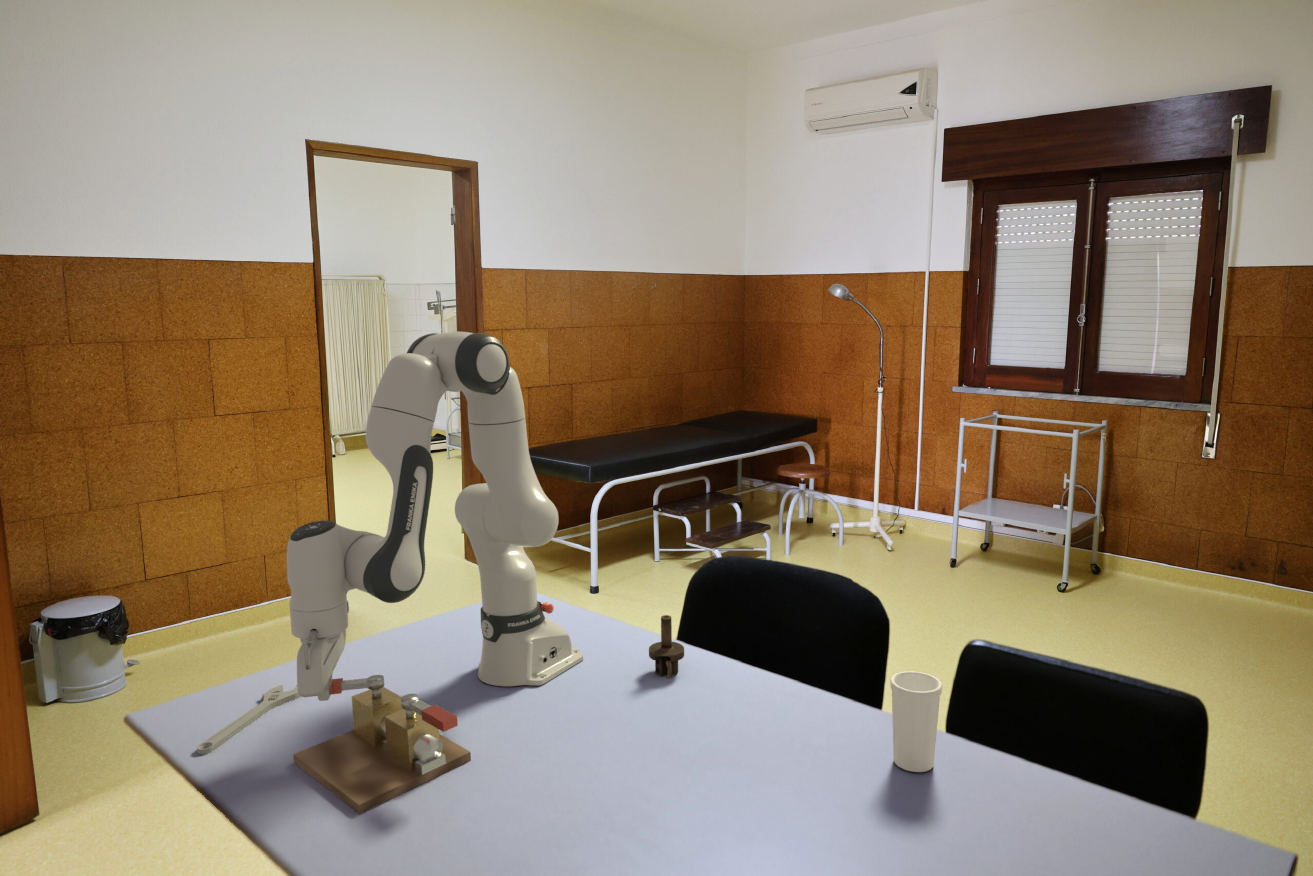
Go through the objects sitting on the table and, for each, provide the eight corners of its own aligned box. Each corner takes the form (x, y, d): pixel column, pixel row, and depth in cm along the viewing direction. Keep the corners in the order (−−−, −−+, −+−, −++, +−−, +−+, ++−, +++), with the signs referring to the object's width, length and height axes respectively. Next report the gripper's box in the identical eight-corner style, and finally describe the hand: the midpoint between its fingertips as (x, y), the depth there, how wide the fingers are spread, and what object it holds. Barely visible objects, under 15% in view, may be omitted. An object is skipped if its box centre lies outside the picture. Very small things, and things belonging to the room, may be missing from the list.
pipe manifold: (379, 719, 155) (375, 664, 153) (468, 774, 136) (465, 712, 134) (350, 731, 150) (345, 675, 149) (438, 789, 132) (434, 726, 130)
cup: (939, 755, 142) (943, 674, 140) (939, 781, 134) (942, 696, 132) (889, 747, 145) (891, 668, 142) (885, 773, 137) (888, 689, 135)
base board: (400, 718, 158) (400, 711, 158) (470, 760, 143) (470, 752, 143) (294, 762, 143) (293, 754, 143) (360, 814, 129) (359, 805, 128)
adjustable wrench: (207, 759, 146) (205, 749, 146) (178, 753, 148) (176, 744, 148) (308, 693, 170) (307, 685, 169) (282, 689, 172) (281, 681, 171)
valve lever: (385, 682, 149) (384, 673, 149) (383, 689, 147) (382, 680, 146) (306, 690, 147) (306, 681, 146) (303, 697, 144) (302, 688, 144)
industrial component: (678, 682, 170) (678, 625, 169) (644, 678, 173) (643, 622, 171) (690, 663, 179) (689, 609, 177) (657, 660, 181) (656, 606, 179)
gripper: (326, 642, 132) (332, 726, 134) (350, 598, 152) (355, 672, 154) (283, 645, 131) (289, 729, 133) (313, 600, 151) (318, 674, 153)
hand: (325, 698), depth 144 cm, fingers closed
